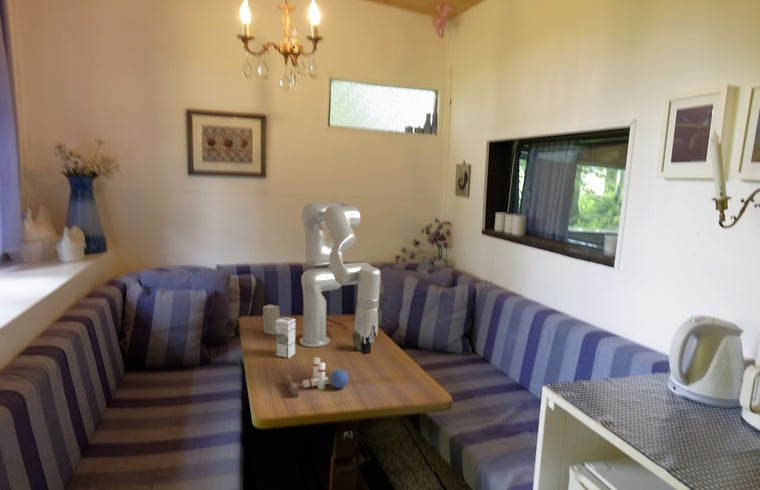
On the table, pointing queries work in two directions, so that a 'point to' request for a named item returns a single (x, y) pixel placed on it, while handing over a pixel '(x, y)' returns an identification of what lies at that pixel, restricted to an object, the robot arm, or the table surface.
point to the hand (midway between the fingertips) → (365, 352)
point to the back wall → (291, 385)
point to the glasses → (335, 323)
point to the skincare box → (270, 318)
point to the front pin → (313, 382)
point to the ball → (339, 378)
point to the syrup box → (285, 337)
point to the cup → (357, 339)
